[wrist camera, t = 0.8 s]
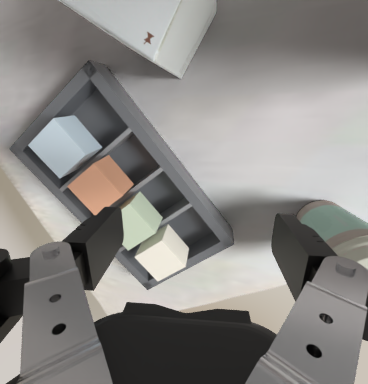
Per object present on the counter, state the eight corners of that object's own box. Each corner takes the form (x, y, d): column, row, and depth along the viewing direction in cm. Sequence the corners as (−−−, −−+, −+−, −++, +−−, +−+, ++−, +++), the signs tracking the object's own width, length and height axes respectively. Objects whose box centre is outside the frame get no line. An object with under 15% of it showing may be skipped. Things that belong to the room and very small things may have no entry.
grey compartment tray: (105, 64, 26) (89, 60, 23) (232, 228, 32) (234, 243, 29) (31, 143, 31) (9, 148, 28) (153, 272, 37) (147, 289, 34)
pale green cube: (139, 191, 28) (129, 203, 24) (162, 217, 29) (155, 233, 25) (115, 209, 29) (102, 223, 26) (137, 233, 30) (128, 250, 27)
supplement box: (219, 11, 23) (223, -79, 11) (181, 81, 26) (152, 67, 14) (156, -36, 22) (90, -184, 10) (124, 42, 25) (44, -6, 13)
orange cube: (108, 155, 26) (93, 163, 23) (133, 184, 27) (122, 196, 24) (84, 175, 28) (67, 186, 24) (109, 202, 29) (95, 216, 25)
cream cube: (168, 223, 29) (162, 240, 26) (189, 248, 30) (185, 266, 27) (143, 239, 30) (134, 257, 27) (163, 262, 31) (157, 281, 28)
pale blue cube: (74, 115, 25) (53, 118, 22) (102, 147, 26) (86, 154, 23) (51, 139, 26) (27, 145, 23) (78, 168, 27) (59, 178, 24)
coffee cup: (271, 215, 30) (302, 281, 19) (332, 176, 27) (410, 229, 16) (306, 257, 32) (353, 339, 21) (367, 225, 29) (458, 301, 18)
